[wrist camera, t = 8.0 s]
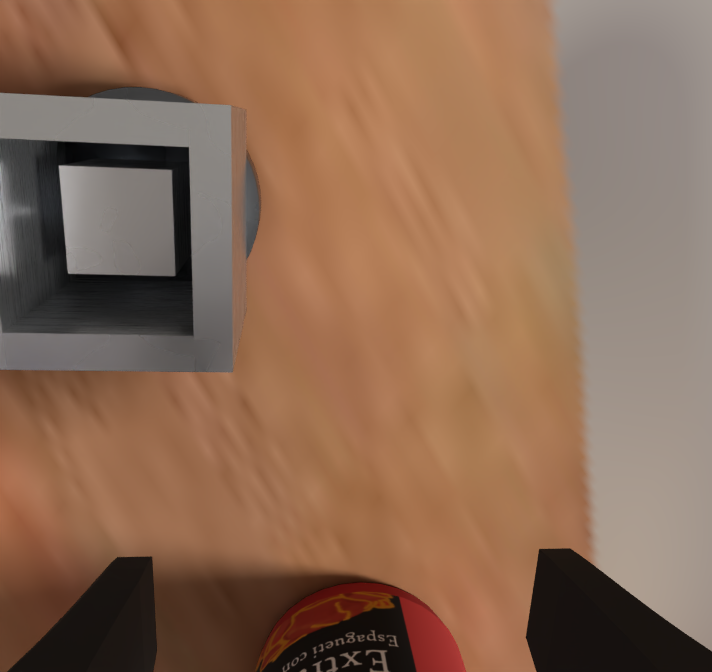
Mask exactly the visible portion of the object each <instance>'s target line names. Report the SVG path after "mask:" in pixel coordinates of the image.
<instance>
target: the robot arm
mask: <svg viewBox="0 0 712 672" xmlns="http://www.w3.org/2000/svg"><path fill="white" fill-rule="evenodd" d="M526 639H527V642H528V645H529V649H530V652H531V655H532V658H533V662H534V665H535V668H536V671H537V672H712V651H710V650H709V649H707V648H706V647H704V646H703V645H701V644H700V643H698V642H697V641H695V640H694V639H692V638H691V637H689V636H688V635H687V634H685V633H684V632H682V631H681V630H679V629H678V628H677V627H675V626H674V625H672V624H671V623H669V622H668V621H667V620H665V619H664V618H663V617H661V616H660V615H658V614H657V613H656V612H654V611H653V610H651V609H650V608H649V607H648V606H646V605H645V604H643V603H642V602H641V601H640V600H638V599H637V598H636V597H634V596H633V595H631V594H630V593H629V592H628V591H626V590H625V589H624V588H622V587H621V586H620V585H619V584H617V583H616V582H615V581H613V580H612V579H611V578H609V577H608V576H607V575H606V574H604V573H603V572H602V571H600V570H599V569H598V568H596V567H595V566H594V565H592V564H591V563H590V562H588V561H587V560H586V559H584V558H583V557H582V556H580V555H579V554H577V553H576V552H574V551H573V550H572V549H570V548H569V549H539V554H538V561H537V567H536V574H535V581H534V587H533V594H532V601H531V607H530V614H529V621H528V627H527V634H526ZM156 652H157V641H156V622H155V603H154V584H153V564H152V557H117V558H116V559H115V560H114V561H113V562H112V563H111V564H110V565H109V566H108V567H107V568H106V569H105V570H104V571H103V573H102V574H101V575H100V576H99V577H98V578H97V579H96V581H95V582H94V583H93V584H92V585H91V586H90V587H89V589H88V590H87V591H86V592H85V593H84V594H83V595H82V596H81V597H80V599H79V600H78V601H77V602H76V603H75V604H74V605H73V606H72V607H71V608H70V609H69V611H68V612H67V613H66V614H65V615H64V616H63V617H62V618H61V619H60V620H59V621H58V622H57V623H56V624H55V625H54V626H53V627H52V628H51V629H50V630H49V631H48V633H47V634H46V635H45V636H44V637H43V638H42V639H41V640H40V641H39V642H38V643H37V644H36V645H35V646H34V647H33V648H32V649H31V650H29V651H28V652H27V653H26V654H25V655H24V656H23V657H22V658H21V659H20V660H19V661H18V662H17V663H16V664H15V665H14V666H13V667H12V668H11V669H9V670H8V671H7V672H153V670H154V664H155V658H156Z"/></svg>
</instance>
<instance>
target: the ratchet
mask: <svg viewBox="0 0 712 672" xmlns="http://www.w3.org/2000/svg"><path fill="white" fill-rule="evenodd" d="M87 98H105V99H124V100H142V101H161V102H180V103H197V102H196V101H193V100H191V99H188V98H186V97H183V96H181V95H177V94H173V93H169V92H165V91H161V90H157V89H151V88H142V87H124V88H118V89H111V90H107V91H103V92H100V93H97V94H94V95H91V96H89V97H87ZM198 104H199V103H198ZM65 142H66V155H67V164H64V165H59V173H60V185H61V197H62V209H63V221H64V233H65V245H66V257H67V269H68V274H76V278H92V279H130V280H169V281H192V247H191V206H190V166H189V147H177V146H155V145H134V144H113V143H91V142H70V141H65ZM260 213H261V193H260V186H259V181H258V176H257V173H256V170H255V167H254V164H253V162H252V159H251V157H250V155H249V153H248V151H247V149H246V260H247V258H248V256H249V254H250V252H251V249H252V246H253V244H254V241H255V237H256V234H257V230H258V225H259V221H260Z"/></svg>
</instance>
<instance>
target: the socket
mask: <svg viewBox="0 0 712 672" xmlns="http://www.w3.org/2000/svg"><path fill="white" fill-rule="evenodd" d="M65 141H70V142H91V143H113V144H134V145H155V146H177V147H189V166H190V206H191V247H192V281H169V280H130V279H92V278H76V274H68V269H67V257H66V245H65V233H64V221H63V209H62V197H61V185H60V173H59V165H64V164H67V155H66V142H65ZM245 314H246V109H242V108H239V107H235V106H232V105H217V104H198V103H180V102H161V101H142V100H124V99H105V98H87V97H68V96H49V95H31V94H12V93H0V370H72V371H159V372H233V369H234V364H235V360H236V355H237V351H238V346H239V342H240V337H241V332H242V328H243V323H244V319H245Z"/></svg>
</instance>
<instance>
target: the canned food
mask: <svg viewBox="0 0 712 672" xmlns="http://www.w3.org/2000/svg"><path fill="white" fill-rule="evenodd" d="M255 672H466V670H465V667H464V664H463V661H462V657H461V654H460V651H459V648H458V646H457V644H456V642H455V640H454V638H453V636H452V635H451V633H450V631H449V630H448V628H447V627H446V626H445V625H444V624H443V622H442V621H441V620H440V619H439V618H438V616H437V615H436V614H435V613H434V612H433V611H432V610H431V609H430V607H429V606H427V605H426V604H425V603H423V602H422V601H421V600H419V599H418V598H417V597H415V596H414V595H411V594H409V593H407V592H405V591H403V590H401V589H398V588H395V587H391V586H387V585H383V584H377V583H363V582H359V583H349V584H340V585H337V586H333V587H330V588H326V589H323V590H320V591H318V592H316V593H314V594H312V595H310V596H308V597H306V598H304V599H303V600H301V601H300V602H298V603H297V604H296V605H294V606H293V607H292V608H290V609H289V610H288V611H287V612H286V613H285V614H284V615H283V616H282V618H281V619H280V620H279V621H278V622H277V623H276V625H275V627H274V628H273V630H272V632H271V633H270V635H269V636H268V638H267V641H266V643H265V645H264V647H263V649H262V651H261V654H260V657H259V660H258V663H257V666H256V671H255Z"/></svg>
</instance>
